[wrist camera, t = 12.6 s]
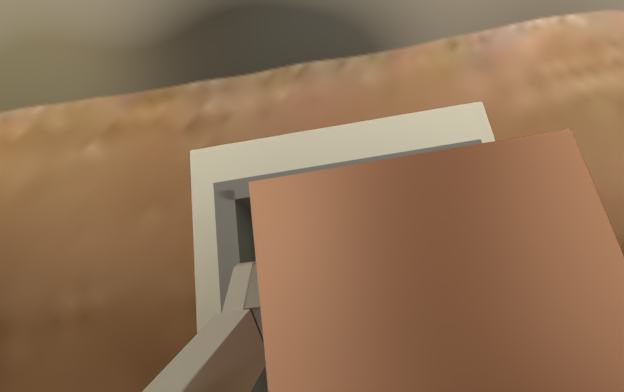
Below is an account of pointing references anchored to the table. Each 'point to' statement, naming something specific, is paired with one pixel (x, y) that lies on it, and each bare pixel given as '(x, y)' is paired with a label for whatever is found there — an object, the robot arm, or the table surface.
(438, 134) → the bay dock
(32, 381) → the table surface
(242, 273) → the robot arm
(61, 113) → the table surface
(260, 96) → the table surface
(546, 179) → the block
